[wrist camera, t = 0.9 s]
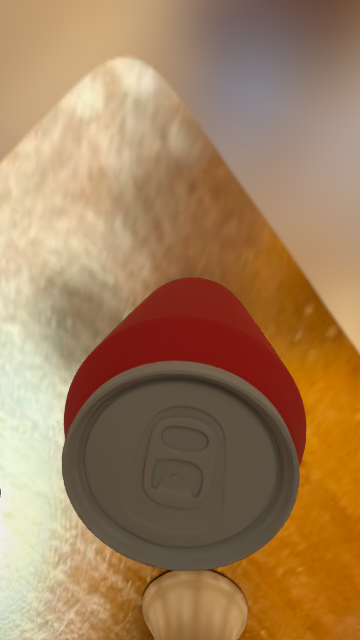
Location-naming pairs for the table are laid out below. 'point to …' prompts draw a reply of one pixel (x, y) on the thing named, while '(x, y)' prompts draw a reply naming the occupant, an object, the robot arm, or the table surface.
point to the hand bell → (194, 607)
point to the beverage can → (184, 432)
